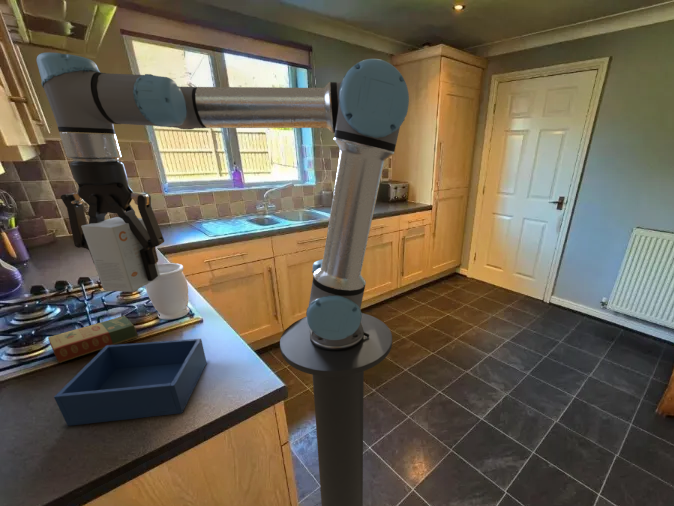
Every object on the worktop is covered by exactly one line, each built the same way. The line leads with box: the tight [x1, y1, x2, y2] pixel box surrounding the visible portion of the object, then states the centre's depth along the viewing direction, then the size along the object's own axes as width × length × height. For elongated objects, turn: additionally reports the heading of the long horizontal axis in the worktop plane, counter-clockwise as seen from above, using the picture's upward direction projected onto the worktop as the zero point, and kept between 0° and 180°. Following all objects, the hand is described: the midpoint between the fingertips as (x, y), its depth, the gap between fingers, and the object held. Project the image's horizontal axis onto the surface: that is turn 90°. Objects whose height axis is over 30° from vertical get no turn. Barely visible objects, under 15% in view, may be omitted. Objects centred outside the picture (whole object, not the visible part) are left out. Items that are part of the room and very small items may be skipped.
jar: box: [144, 262, 190, 321], centre depth 98 cm, size 11×10×15 cm
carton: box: [47, 315, 139, 364], centre depth 85 cm, size 8×16×4 cm, turn 140°
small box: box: [81, 216, 160, 293], centre depth 65 cm, size 8×6×13 cm
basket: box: [53, 338, 207, 427], centre depth 69 cm, size 20×17×7 cm
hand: (132, 279), depth 67 cm, fingers closed on small box, 7 cm apart
